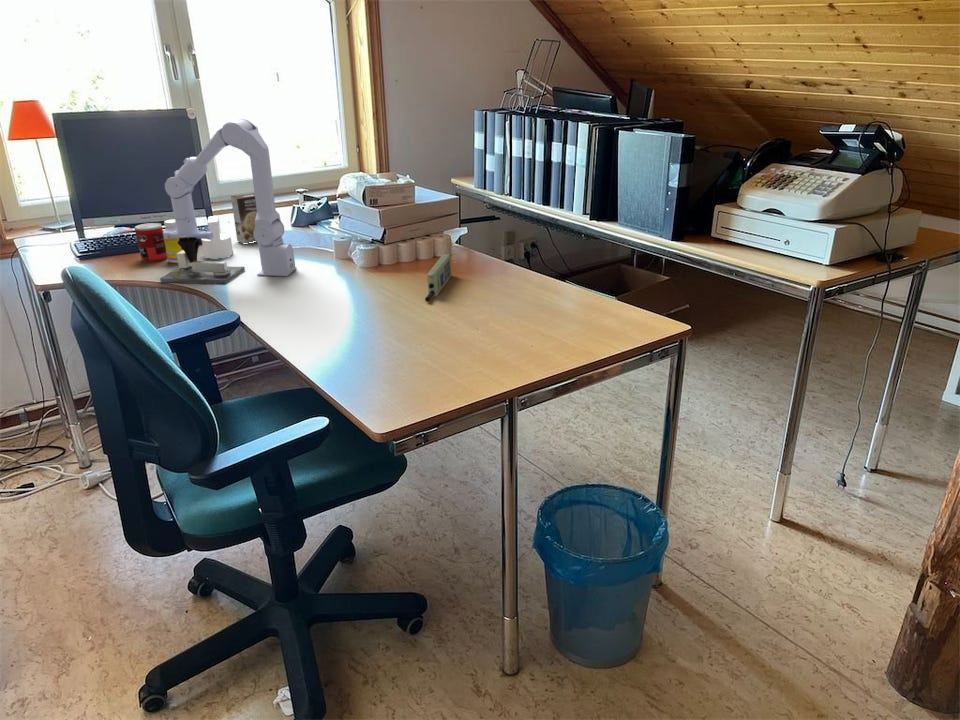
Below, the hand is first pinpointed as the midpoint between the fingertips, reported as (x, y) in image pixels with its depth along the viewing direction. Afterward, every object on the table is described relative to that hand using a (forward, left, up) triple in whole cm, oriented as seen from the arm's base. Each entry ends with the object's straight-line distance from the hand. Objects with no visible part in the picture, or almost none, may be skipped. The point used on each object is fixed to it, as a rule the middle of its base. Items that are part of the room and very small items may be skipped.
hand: (193, 261), depth 211 cm
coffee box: (-3, -36, -3) cm, 36 cm away
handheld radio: (-77, +10, -3) cm, 78 cm away
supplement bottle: (+11, -11, -3) cm, 16 cm away
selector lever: (-9, +7, -1) cm, 11 cm away
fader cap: (+3, 0, -1) cm, 3 cm away
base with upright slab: (+1, -18, -3) cm, 18 cm away
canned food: (+20, -12, -3) cm, 24 cm away
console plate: (-5, +4, -3) cm, 7 cm away
